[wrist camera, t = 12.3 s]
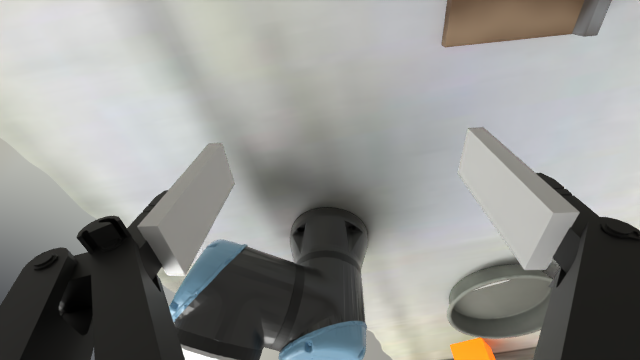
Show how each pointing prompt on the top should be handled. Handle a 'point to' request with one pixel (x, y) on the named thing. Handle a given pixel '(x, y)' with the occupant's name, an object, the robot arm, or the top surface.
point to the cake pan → (500, 302)
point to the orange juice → (472, 350)
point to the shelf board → (519, 19)
